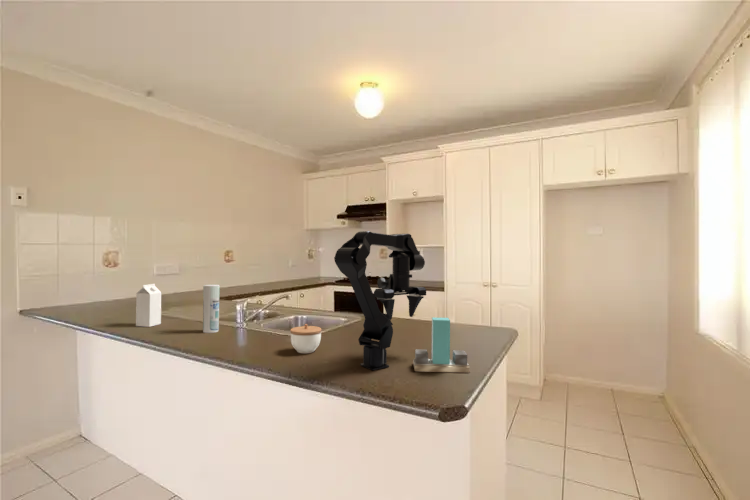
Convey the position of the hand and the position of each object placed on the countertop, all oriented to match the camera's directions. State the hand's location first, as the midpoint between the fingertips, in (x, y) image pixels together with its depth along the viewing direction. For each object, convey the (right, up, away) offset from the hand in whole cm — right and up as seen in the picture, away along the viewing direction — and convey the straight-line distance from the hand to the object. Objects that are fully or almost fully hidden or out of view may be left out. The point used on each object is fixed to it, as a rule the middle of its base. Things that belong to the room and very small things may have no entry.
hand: (400, 318), depth 123 cm
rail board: (+11, -13, -11) cm, 21 cm away
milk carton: (-113, -12, +48) cm, 124 cm away
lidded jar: (-33, -13, +7) cm, 36 cm away
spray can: (-79, -13, +36) cm, 88 cm away
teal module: (+11, -11, -11) cm, 19 cm away
